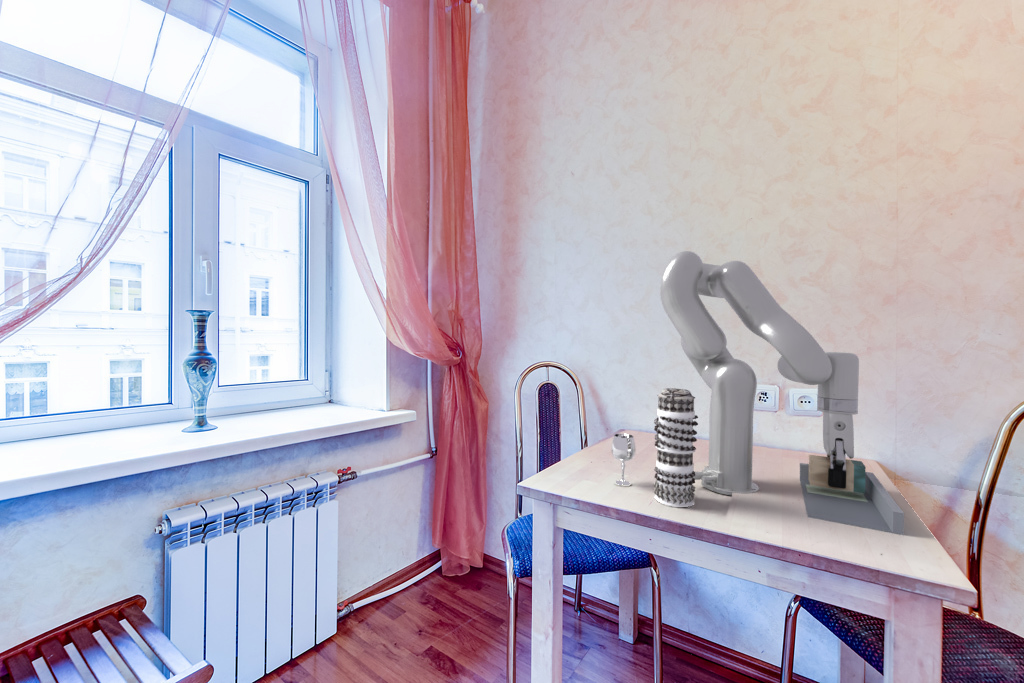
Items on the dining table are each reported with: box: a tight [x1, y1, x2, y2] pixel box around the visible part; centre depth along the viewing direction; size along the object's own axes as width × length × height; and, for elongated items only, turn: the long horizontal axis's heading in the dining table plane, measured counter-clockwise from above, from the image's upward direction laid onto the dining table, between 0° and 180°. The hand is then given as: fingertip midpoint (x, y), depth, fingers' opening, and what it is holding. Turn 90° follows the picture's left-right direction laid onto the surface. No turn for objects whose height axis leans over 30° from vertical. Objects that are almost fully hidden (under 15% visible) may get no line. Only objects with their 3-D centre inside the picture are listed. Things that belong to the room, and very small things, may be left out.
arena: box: [799, 462, 905, 536], centre depth 95 cm, size 28×14×5 cm, turn 149°
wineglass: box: [611, 433, 636, 485], centre depth 107 cm, size 6×6×12 cm
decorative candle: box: [653, 387, 699, 508], centre depth 97 cm, size 9×9×25 cm
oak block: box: [808, 454, 867, 494], centre depth 100 cm, size 10×5×6 cm, turn 59°
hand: (835, 482), depth 100 cm, fingers closed on oak block, 4 cm apart
